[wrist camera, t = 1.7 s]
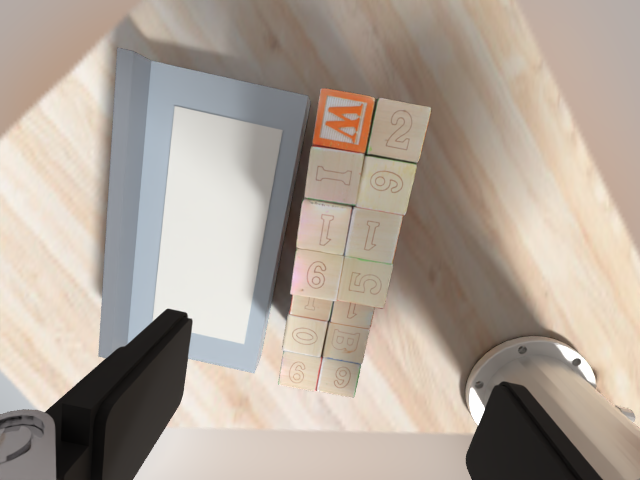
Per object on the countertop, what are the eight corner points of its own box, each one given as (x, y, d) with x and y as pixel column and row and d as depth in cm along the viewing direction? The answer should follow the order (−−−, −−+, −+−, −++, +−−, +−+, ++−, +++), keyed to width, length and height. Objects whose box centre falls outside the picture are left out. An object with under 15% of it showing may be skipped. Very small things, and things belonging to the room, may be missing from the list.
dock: (310, 102, 30) (305, 89, 24) (261, 355, 36) (248, 389, 30) (156, 67, 29) (117, 47, 24) (133, 327, 36) (98, 356, 30)
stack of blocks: (349, 338, 35) (356, 431, 23) (290, 327, 35) (266, 414, 23) (395, 126, 30) (435, 104, 18) (327, 114, 30) (320, 84, 18)
